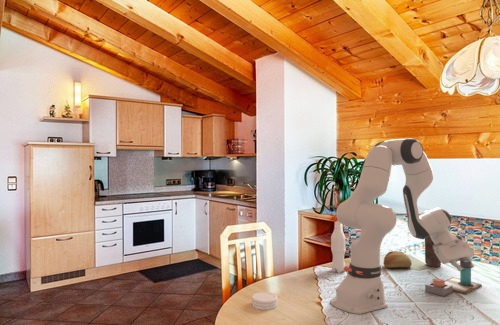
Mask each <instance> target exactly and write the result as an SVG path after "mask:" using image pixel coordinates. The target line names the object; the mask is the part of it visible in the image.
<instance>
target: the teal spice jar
mask: <svg viewBox="0 0 500 325" xmlns="http://www.w3.org/2000/svg"><path fill="white" fill-rule="evenodd" d="M471 261H472V260H471ZM471 261H468V260H460V261H459V265H461V266H462V267H463V270H462V271H459V273H460V274H459V277H460V278H459V279H460V284H462V285H467V286H470V285H471V282H472V268H471Z"/></svg>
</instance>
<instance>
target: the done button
mask: <svg viewBox="0 0 500 325" xmlns="http://www.w3.org/2000/svg"><path fill="white" fill-rule="evenodd" d="M432 281H433V286H436V287H440V288H444V287H445V280H444V279H442V278H433V279H432Z"/></svg>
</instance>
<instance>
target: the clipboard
mask: <svg viewBox="0 0 500 325" xmlns="http://www.w3.org/2000/svg"><path fill="white" fill-rule="evenodd" d="M444 281H445V284H448V285H452V289H453V292H456V293H458V292H459V294H462V295H467V293H468V294H469V292H470V293H471V292H473V291H475V290H477V289H478V287H479V288H480V286H481V287H482V286H483V285H482V283H479V282H473V281H471V285H470V286H467V285H462V284H460V278H458V277H454V276H452V277H450V278H447V279H445V280H444ZM476 288H477V289H476ZM474 289H475V290H474ZM472 290H473V291H472Z"/></svg>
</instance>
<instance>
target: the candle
mask: <svg viewBox="0 0 500 325" xmlns="http://www.w3.org/2000/svg"><path fill="white" fill-rule="evenodd" d="M433 244H434V243H433V241H432V239H431V237H430V236H429V237H427V238H425V239H424V262H425V264H426V265H427V266H429V267H431V268H437V267H438V268H439V267H440V266H441V265H442V263H441V262H440V260H439V259H438V257H437V256H436V254H435V252H434V249H433Z"/></svg>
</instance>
